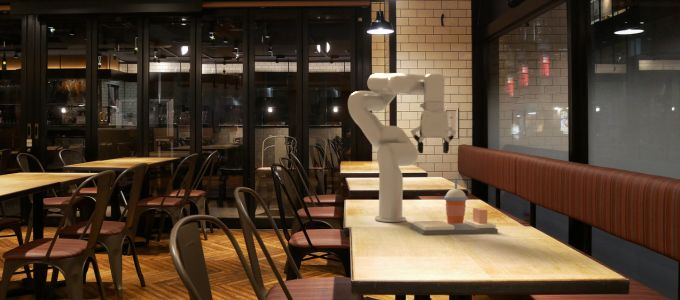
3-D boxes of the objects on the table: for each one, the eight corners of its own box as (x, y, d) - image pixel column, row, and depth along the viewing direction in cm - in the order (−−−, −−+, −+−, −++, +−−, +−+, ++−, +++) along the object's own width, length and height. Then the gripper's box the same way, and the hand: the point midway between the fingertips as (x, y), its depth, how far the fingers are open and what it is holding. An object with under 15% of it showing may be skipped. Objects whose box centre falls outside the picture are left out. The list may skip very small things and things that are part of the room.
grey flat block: (410, 228, 227) (410, 221, 227) (480, 226, 233) (480, 219, 233) (423, 234, 213) (423, 227, 213) (497, 233, 218) (497, 225, 218)
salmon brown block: (464, 223, 230) (464, 207, 230) (481, 223, 231) (482, 206, 231) (477, 228, 218) (477, 211, 218) (495, 227, 219) (496, 210, 219)
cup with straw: (439, 222, 244) (440, 177, 243) (457, 220, 248) (458, 177, 247) (452, 225, 236) (453, 179, 235) (471, 224, 240) (472, 178, 239)
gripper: (414, 106, 221) (414, 153, 221) (459, 107, 224) (458, 153, 224) (408, 107, 228) (408, 152, 229) (452, 108, 231) (451, 152, 232)
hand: (433, 153), depth 227 cm, fingers open, 9 cm apart
